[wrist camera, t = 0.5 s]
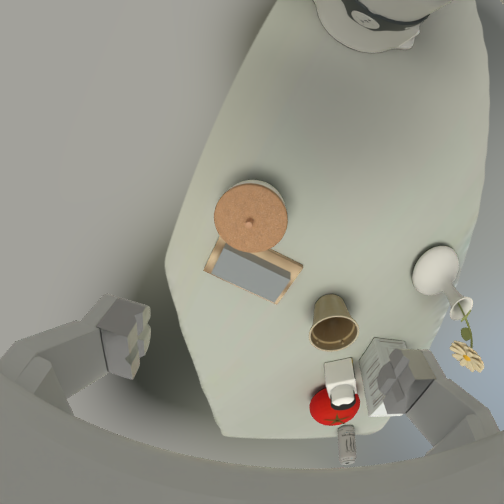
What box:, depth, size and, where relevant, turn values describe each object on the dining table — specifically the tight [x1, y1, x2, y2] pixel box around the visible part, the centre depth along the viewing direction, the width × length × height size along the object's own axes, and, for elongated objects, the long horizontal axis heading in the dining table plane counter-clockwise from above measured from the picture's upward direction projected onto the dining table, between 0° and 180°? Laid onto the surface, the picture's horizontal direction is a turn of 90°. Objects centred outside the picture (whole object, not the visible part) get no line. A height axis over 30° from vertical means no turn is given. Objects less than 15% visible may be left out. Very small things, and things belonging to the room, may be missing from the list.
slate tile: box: [211, 243, 291, 303], centre depth 51 cm, size 6×13×2 cm, turn 64°
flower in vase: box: [412, 246, 484, 372], centre depth 38 cm, size 13×11×25 cm
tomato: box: [310, 388, 360, 426], centre depth 66 cm, size 14×13×10 cm
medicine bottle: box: [324, 358, 357, 410], centre depth 60 cm, size 7×7×12 cm
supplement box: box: [359, 338, 407, 417], centre depth 54 cm, size 10×9×17 cm
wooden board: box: [203, 236, 303, 304], centre depth 53 cm, size 10×16×1 cm, turn 64°
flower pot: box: [309, 294, 359, 352], centre depth 52 cm, size 9×9×9 cm
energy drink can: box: [338, 425, 356, 465], centre depth 76 cm, size 6×6×15 cm
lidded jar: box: [214, 180, 288, 253], centre depth 43 cm, size 11×11×9 cm
